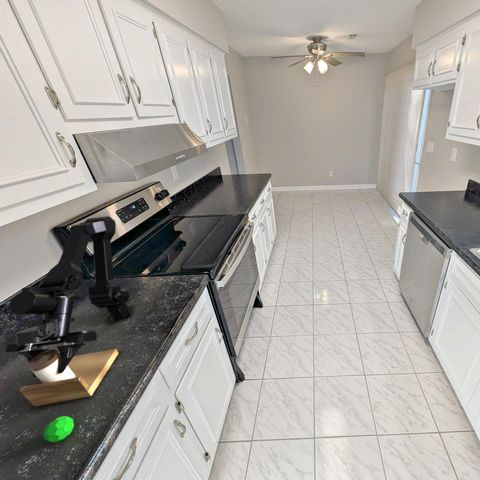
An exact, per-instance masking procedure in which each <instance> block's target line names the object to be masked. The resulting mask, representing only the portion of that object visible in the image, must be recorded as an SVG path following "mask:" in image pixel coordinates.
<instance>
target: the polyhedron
mask: <svg viewBox="0 0 480 480" xmlns="http://www.w3.org/2000/svg"><path fill="white" fill-rule="evenodd" d="M74 428H75V422H74V419H73V418H71V417H69V416H67V415H62V416H59V417H57V418H56V419H55V418H54V420H53V421H51V422H50V423H49V424H47V425H46V426H45V429H44V431H43V438H44V440H45V441H48V442H50V443H57V442H61V441H63V440H64V439H66V438H67V436H69V435H70V434H71V433H72V431H73V429H74Z"/></svg>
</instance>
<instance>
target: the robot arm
mask: <svg viewBox="0 0 480 480" xmlns="http://www.w3.org/2000/svg"><path fill="white" fill-rule="evenodd" d="M116 224H117V223H116V220H115V219H113V218H112V217H111V216H109V215H106V216H105V215H103V216H97V217H95V216H94V217H88V218H86V220H84V221H82V222H79V223H76V224H72V225H71V226H70V227H69V236H68V238H67V240H66V243H65V246H64V248H63V250H62V253H61V256H60V257H59V261H58V263H57V264H55V265H54V266H53V267H52V268H50V269H49V270H48V272H47V274H46V275H45V277H44V279H43V281H42V282H41V283H40V284H39V285H38V286H37V287H36V286H27V287H22V288H21V292H19V293H17V294H16V295H15V296H14V297H13V298H12V300H10V302H9V310H10V312H11V313H12V314H15V315H29V316H33V315H35V316H42V319H38V320H37V321H36V324H35V326H32V327H29V328H26V329H23V330H21V331H17V332H15V334H14V335H15V340H11V341H10V342H9V343H8V344H6V346H5V347H6V348H5V354H7V353H16V354H17V355H21V356H23V357H25V358H26V360H27V363H29V361H30V360H31V359H33V358H34V357H35V356H37V355H38V354H40V353H42V352H45V351H47V350H50V348H44V347H46V346H52V345H57V346H56V348H57V349H56V350H57V351H58V353H59V355H60V356H59V364H58V374H60V373H63V372H64V370H65V369H66V367H67V366H68V364H69V363H70V361H71V360H72V358H73V357H74V356H76V355H77V353H78V352H79V351H80V349H82V347H83V346H85V345H86V343H87V342H88V343H89V342H93V341H97V338H98V334H97V332H96V331H95V330H80V331H79V330H78V331H72V332H71V331H70V328H71V323H73V322H76V320H75V319H76V318H75V317H72V315H73V308H74V301H80V300H81V297H80V296H79V295H78V294H77V293H76V292H75V290H77V289H79V288H80V287H81V285H82V282H83V277H84V271H83V270H82V267H81V266H82V263H83V259H84V256H85V254H86V251H87V248H88V246H89V242H90V240H91V242H92V250H93V251H92V252H93V263H94V264H93V265H94V275H95V277H94V278H95V282H94V283H93V285H92V286H89V287H88V300H89V301H90V303H91V304H92V305H93V306H94V307H97V308H98V309H101V308H105V309H106V310H107V312H108V313H109V315H110V319H109V323H110V324H113V323H115V322H119V321H121V320H124V319H128V318H130V317H131V316H132V310H133V305H130V306H128V304H127V302H129V299H130V293H129V291H125V290H121V285H120V284H119V283H118V282H117V281H116V280H115V277H114V267H113V254H112V243H111V241H112V239H113V237H114V236H115V234H116V227H117V225H116ZM59 344H63V345H59ZM31 373H32V377H33V378H37V377H36V376H35V374H34V373H33V372H32V371H31Z"/></svg>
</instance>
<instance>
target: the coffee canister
mask: <svg viewBox="0 0 480 480" xmlns="http://www.w3.org/2000/svg"><path fill="white" fill-rule="evenodd" d="M59 356H60V352H59V351H58V349H49V350H47V351H45V352H42V353H40V354H38V355H37V356H35V357H34V358H33V359H31V360H30V361H29V362H27V364H26V368H27V369H28V370H29V371H30V372H31V373H32V372H33V373H34V374H35V376H36V378H37V379H38V380H39V381H40V383H47V382H53V381H58V380H64V379H70V378H75V374H74V373H73V372H72V370H71V369H70V368H69V366H67V367H66V369H65V370H64V372H63V373H60V374H58V364H59Z"/></svg>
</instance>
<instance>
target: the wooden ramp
mask: <svg viewBox="0 0 480 480" xmlns="http://www.w3.org/2000/svg"><path fill="white" fill-rule="evenodd" d="M118 355H119V351H118V350H117V348H114V349H108V350H101V351H96V352H90V353H83V354H78V355H77V354H76V355H74V357H73V358H72V360H71V361H70V363H69V364H68V366H69V368H70V369H71V370H72V372H73V373H74V374H75V378H70V379H64V380H58V381H53V382H47V383H42V382H40V383H36V384H31V385H25V386H21V387H20V388H19V389H18V392H19V393H21V394H22V396H23V397H25V399H27V401H29V403H31V405H32V406H33V407H39V406H45V405H50V404H55V403H60V402H65V401H71V400H77V399H82V398H87V397H92V396H93V394H94V393H95V391H96V389H97V388H98V386H99V385H100V383H101V381H102V380H103V379H104V377H105V375H106V373H108V371H109V369H110V368H111V366H112V364H113V363H114V361H115V360H116V358H117V356H118Z"/></svg>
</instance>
